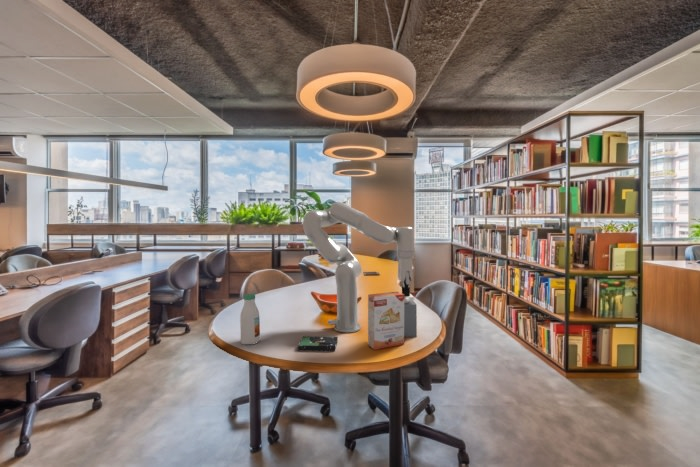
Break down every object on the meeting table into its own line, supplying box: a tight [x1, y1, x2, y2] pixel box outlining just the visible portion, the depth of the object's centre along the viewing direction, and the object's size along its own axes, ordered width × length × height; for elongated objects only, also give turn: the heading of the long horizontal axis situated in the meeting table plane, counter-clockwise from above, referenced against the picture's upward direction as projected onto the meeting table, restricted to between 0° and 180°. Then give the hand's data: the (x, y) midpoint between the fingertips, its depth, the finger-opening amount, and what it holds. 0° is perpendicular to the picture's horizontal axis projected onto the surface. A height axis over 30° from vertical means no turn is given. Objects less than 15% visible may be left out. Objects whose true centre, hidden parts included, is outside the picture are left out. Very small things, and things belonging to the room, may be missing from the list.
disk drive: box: [297, 335, 339, 352], centre depth 127 cm, size 10×3×15 cm
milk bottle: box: [239, 293, 261, 345], centre depth 132 cm, size 8×8×20 cm
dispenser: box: [404, 300, 418, 338], centre depth 140 cm, size 8×8×14 cm
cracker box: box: [367, 291, 405, 351], centre depth 127 cm, size 14×6×21 cm, turn 114°
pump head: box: [404, 293, 415, 303], centre depth 138 cm, size 6×9×12 cm, turn 1°
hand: (405, 295), depth 140 cm, fingers closed
